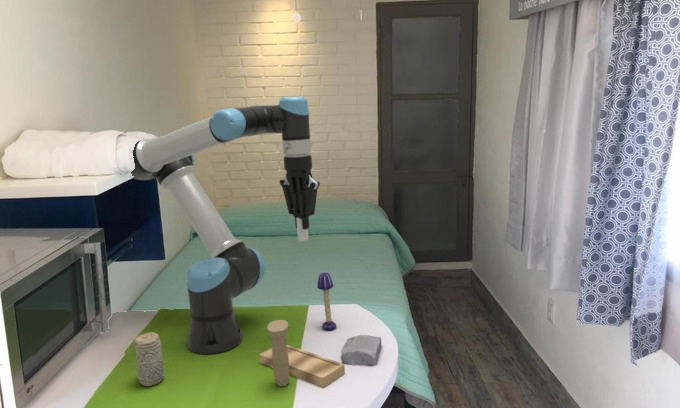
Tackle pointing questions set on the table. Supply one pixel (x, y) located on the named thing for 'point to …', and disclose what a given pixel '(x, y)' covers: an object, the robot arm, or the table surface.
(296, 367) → the oak board
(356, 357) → the stone block
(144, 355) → the carving
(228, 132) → the robot arm
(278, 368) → the handle
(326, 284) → the toy lamp
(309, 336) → the table surface
